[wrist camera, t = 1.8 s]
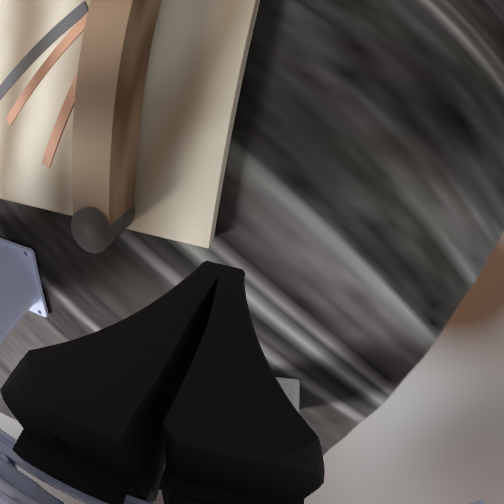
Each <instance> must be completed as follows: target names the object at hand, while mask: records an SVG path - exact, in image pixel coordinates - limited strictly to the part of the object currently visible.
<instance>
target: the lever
mask: <svg viewBox="0 0 504 504" xmlns="http://www.w3.org/2000/svg"><path fill="white" fill-rule="evenodd" d="M160 4H161V0H91V1H90V5H89V10H88V14H87V19H86V24H85V29H84V34H83V39H82V45H81V51H80V58H79V65H78V72H77V81H76V90H75V101H74V114H73V132H72V199H73V217H72V219H71V231H72V235H73V237H74V239H75V241H76V242H77V243H78V245H79V246H80V247H81V248H83V249H84V250H86V251H87V252H90V253H101V252H103V251H104V250H105V249H106V248H107V247H108V246H109V245H110V244H111V243H112V242H113V241H114V240H115V239H116V238H117V237H118V236H119V235H120V234H121V233H122V232H123V231H124V230H125V229H126V228H127V227H128V226H129V225H131V223H132V222H133V220H134V217H135V208H134V191H135V173H136V159H137V147H138V137H139V127H140V118H141V109H142V102H143V94H144V87H145V81H146V74H147V68H148V62H149V56H150V51H151V45H152V40H153V35H154V30H155V26H156V21H157V17H158V12H159V8H160Z"/></svg>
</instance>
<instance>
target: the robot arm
mask: <svg viewBox="0 0 504 504" xmlns="http://www.w3.org/2000/svg"><path fill="white" fill-rule="evenodd" d="M244 276H245V272H244V271H243V269H239V268H234V267H230V266H226V265H222V264H218V263H213V262H209V261H205V262H203V263H202V264H201V265H200V266H199V267H198V268H197V269H196V270H194V271H193V272H192V273H191V274H190V275H189V276H187V277H186V278H185V279H184V280H183V281H181V282H180V283H179V284H178V285H176V286H175V287H174V288H172V289H171V290H170V291H169V292H167V293H166V294H164V295H163V296H161V297H160V298H159V299H157V300H156V301H154V302H153V303H151V304H150V305H148V306H147V307H145V308H143V309H142V310H140V311H138V312H137V313H135V314H133V315H131V316H129V317H128V318H126V319H124V320H122V321H120V322H118V323H115V324H113V325H111V326H109V327H106V328H104V329H102V330H100V331H97V332H95V333H92V334H89V335H86V336H84V337H80V338H77V339H74V340H71V341H68V342H64V343H61V344H56V345H52V346H48V347H43V348H39V349H34V350H29V351H28V352H27V354H26V355H25V356H24V357H23V358H22V359H21V361H20V362H19V363H18V365H17V366H16V368H15V369H14V370H13V372H12V373H11V375H10V376H9V378H8V379H7V381H6V382H5V384H4V385H3V387H2V388H1V393H2V397H3V400H4V401H5V403H6V405H7V406H8V408H9V409H10V411H11V412H12V413H13V415H14V416H15V417H16V419H17V420H18V421H19V423H20V424H21V425H22V427H23V428H24V429H23V431H22V433H21V434H20V436H19V438H18V440H16V439H15V438H13V437H12V436H10V435H9V434H7V433H6V432H4V431H3V430H1V429H0V504H64V503H63V502H62V501H60V500H59V499H57V498H55V497H54V496H53V495H51V494H50V493H48V492H47V491H46V490H44V489H43V488H42V487H41V486H40V485H39V484H38V483H36V482H35V481H33V480H32V479H30V478H29V477H27V476H26V475H24V474H23V473H21V472H20V471H19V470H17V467H16V465H17V466H19V467H20V468H22V469H24V470H25V471H27V472H28V473H30V474H32V475H33V476H35V477H36V478H38V479H40V480H42V481H43V482H45V483H47V484H49V485H50V486H52V487H54V488H56V489H58V490H60V491H62V492H63V493H65V494H67V495H69V496H71V497H73V498H75V499H77V500H79V501H82V502H84V503H86V504H153V503H152V502H154V501H156V498H157V494H158V490H159V489H160V490H162V495H163V499H164V504H304V498H306V497H307V496H309V495H310V494H311V493H313V492H314V491H315V490H317V489H318V488H319V487H320V486H321V485H322V484H323V483H324V462H323V455H322V450H321V445H320V441H319V437H318V436H317V435H316V434H315V432H314V431H313V430H312V429H311V428H310V426H309V425H308V424H307V423H306V422H305V420H304V419H303V418H302V416H301V415H300V414H299V413H298V411H297V410H296V408H295V407H294V406H293V404H292V403H291V401H290V400H289V398H288V397H287V395H286V394H285V392H284V390H283V389H282V387H281V385H280V384H279V382H278V380H277V379H276V377H275V375H274V374H273V372H272V370H271V368H270V366H269V364H268V362H267V360H266V358H265V356H264V353H263V351H262V349H261V346H260V344H259V341H258V339H257V336H256V333H255V330H254V327H253V324H252V320H251V317H250V313H249V309H248V304H247V299H246V293H245V284H244ZM28 310H30V311H32V312H34V313H36V314H39V315H41V316H43V317H47V316H48V310H47V306H46V302H45V298H44V294H43V290H42V286H41V281H40V277H39V272H38V267H37V262H36V257H35V252H34V251H33V250H32V249H31V248H28V247H25V246H22V245H19V244H17V243H14V242H11V241H8V240H5V239H2V238H0V343H1V342H2V341H3V339H4V338H5V337H6V336H7V335H8V333H9V332H10V331H11V330H12V329H13V328H14V326H15V325H16V324H17V323H18V322H19V321H20V319H21V318H22V317H23V316H24V315H25V314H26V313H27V312H28ZM165 462H166V465H165ZM15 464H16V465H15ZM164 466H165V468H164ZM163 469H164V471H163ZM162 474H163V475H162ZM471 504H485V501H484V500H481V501H478V502H474V503H471Z"/></svg>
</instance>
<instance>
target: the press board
mask: <svg viewBox="0 0 504 504" xmlns="http://www.w3.org/2000/svg"><path fill="white" fill-rule="evenodd" d="M90 1H91V0H0V198H1V199H5V200H9V201H13V202H17V203H21V204H25V205H29V206H34V207H38V208H42V209H46V210H50V211H54V212H58V213H62V214H66V215H71V216H73V199H72V132H73V114H74V101H75V90H76V81H77V72H78V65H79V58H80V51H81V45H82V39H83V34H84V29H85V24H86V19H87V14H88V10H89V5H90ZM259 3H260V0H161V4H160V8H159V12H158V17H157V21H156V26H155V30H154V35H153V40H152V45H151V51H150V56H149V62H148V68H147V74H146V81H145V87H144V94H143V102H142V109H141V118H140V127H139V137H138V147H137V159H136V173H135V191H134V208H135V217H134V220H133V222H132V223H131V225H129V226H128V227H127V228H126V229H129V230H133V231H137V232H141V233H146V234H150V235H154V236H158V237H162V238H167V239H171V240H175V241H179V242H184V243H188V244H192V245H196V246H201V247H205V248H209V247H210V245H211V243H212V241H213V239H214V235H215V228H216V222H217V216H218V210H219V204H220V198H221V192H222V186H223V180H224V174H225V169H226V163H227V157H228V152H229V146H230V141H231V136H232V130H233V125H234V120H235V115H236V110H237V104H238V99H239V94H240V90H241V85H242V80H243V75H244V70H245V65H246V61H247V56H248V51H249V47H250V42H251V38H252V33H253V29H254V25H255V20H256V16H257V12H258V7H259Z"/></svg>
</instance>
